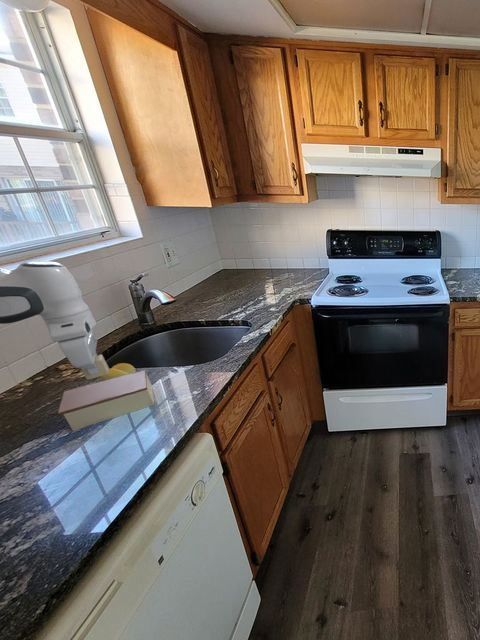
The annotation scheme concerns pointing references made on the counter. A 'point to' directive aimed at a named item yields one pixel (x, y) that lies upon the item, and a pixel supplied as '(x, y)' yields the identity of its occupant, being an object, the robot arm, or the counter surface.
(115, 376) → the yellow rounded lump
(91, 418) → the case
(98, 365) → the tan block
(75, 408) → the cover
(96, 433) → the counter surface
